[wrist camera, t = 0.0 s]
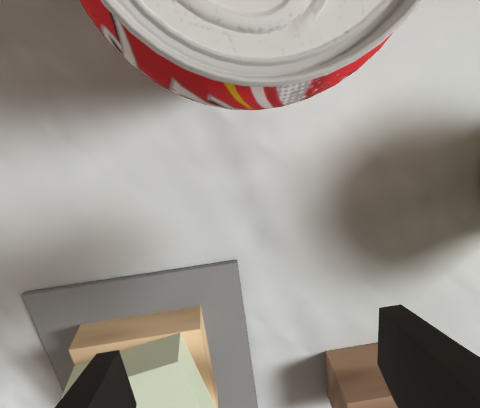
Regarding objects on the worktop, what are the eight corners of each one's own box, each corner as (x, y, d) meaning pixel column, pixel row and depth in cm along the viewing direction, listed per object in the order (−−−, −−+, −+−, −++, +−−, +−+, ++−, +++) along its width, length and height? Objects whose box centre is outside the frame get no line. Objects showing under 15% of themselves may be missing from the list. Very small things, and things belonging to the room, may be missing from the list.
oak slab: (217, 390, 23) (218, 418, 22) (111, 408, 23) (103, 438, 21) (200, 305, 21) (199, 329, 19) (80, 324, 21) (68, 349, 19)
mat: (257, 406, 25) (258, 410, 25) (85, 435, 24) (84, 439, 24) (236, 259, 20) (237, 262, 20) (24, 292, 20) (21, 295, 19)
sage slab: (215, 406, 21) (216, 439, 19) (121, 434, 21) (113, 470, 20) (180, 332, 19) (177, 361, 17) (75, 365, 19) (61, 397, 17)
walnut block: (381, 383, 25) (411, 438, 22) (326, 392, 25) (347, 449, 21) (383, 340, 24) (416, 391, 20) (325, 350, 24) (347, 403, 20)
